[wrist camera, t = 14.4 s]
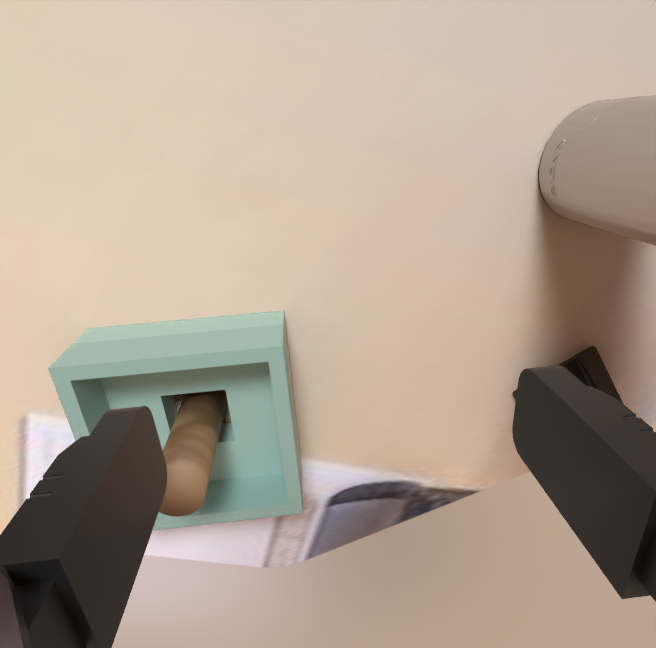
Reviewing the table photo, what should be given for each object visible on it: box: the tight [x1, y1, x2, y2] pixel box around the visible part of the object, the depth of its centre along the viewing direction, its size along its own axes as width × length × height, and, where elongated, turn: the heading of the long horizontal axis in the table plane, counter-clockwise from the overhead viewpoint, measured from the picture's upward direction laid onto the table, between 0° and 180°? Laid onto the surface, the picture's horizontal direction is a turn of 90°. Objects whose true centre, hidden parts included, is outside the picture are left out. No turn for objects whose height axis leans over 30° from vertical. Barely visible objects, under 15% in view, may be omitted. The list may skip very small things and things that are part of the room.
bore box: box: [48, 311, 303, 530], centre depth 38 cm, size 17×17×7 cm
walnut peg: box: [159, 390, 227, 517], centre depth 36 cm, size 4×4×12 cm
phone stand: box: [513, 347, 624, 405], centre depth 39 cm, size 9×6×12 cm, turn 124°
